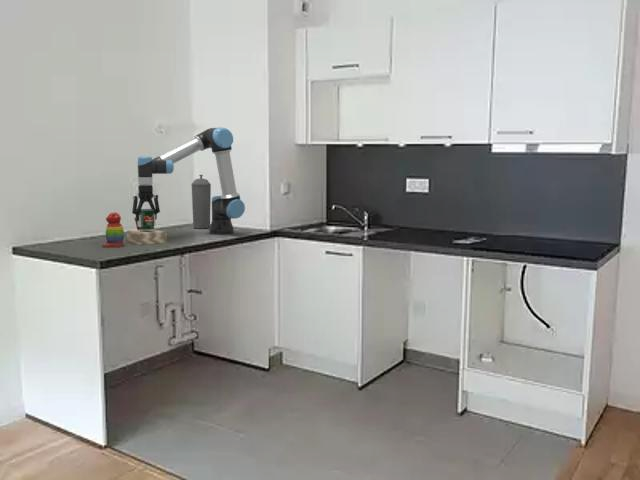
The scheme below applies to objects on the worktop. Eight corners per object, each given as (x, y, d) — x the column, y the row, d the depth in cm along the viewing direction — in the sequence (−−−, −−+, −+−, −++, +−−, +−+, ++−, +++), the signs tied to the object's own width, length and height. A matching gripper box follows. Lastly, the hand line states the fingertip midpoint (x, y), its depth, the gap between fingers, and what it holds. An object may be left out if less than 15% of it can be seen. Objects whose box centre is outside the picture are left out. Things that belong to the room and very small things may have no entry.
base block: (153, 239, 354) (153, 228, 354) (166, 242, 342) (166, 231, 342) (127, 241, 344) (126, 230, 343) (139, 244, 332) (139, 233, 331)
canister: (197, 226, 416) (196, 174, 411) (214, 227, 412) (214, 174, 407) (188, 228, 403) (187, 174, 399) (206, 229, 400) (205, 175, 395)
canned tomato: (144, 228, 347) (143, 208, 346) (156, 228, 345) (156, 209, 343) (136, 229, 340) (135, 209, 338) (149, 230, 337) (148, 210, 336)
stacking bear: (108, 244, 333) (107, 211, 330) (127, 244, 333) (126, 211, 330) (101, 247, 322) (100, 213, 320) (120, 247, 322) (119, 213, 319)
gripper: (159, 184, 348) (160, 224, 352) (124, 185, 335) (125, 226, 338) (166, 184, 343) (166, 225, 346) (130, 185, 329) (131, 228, 333)
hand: (146, 226), depth 342 cm, fingers closed on canned tomato, 8 cm apart
